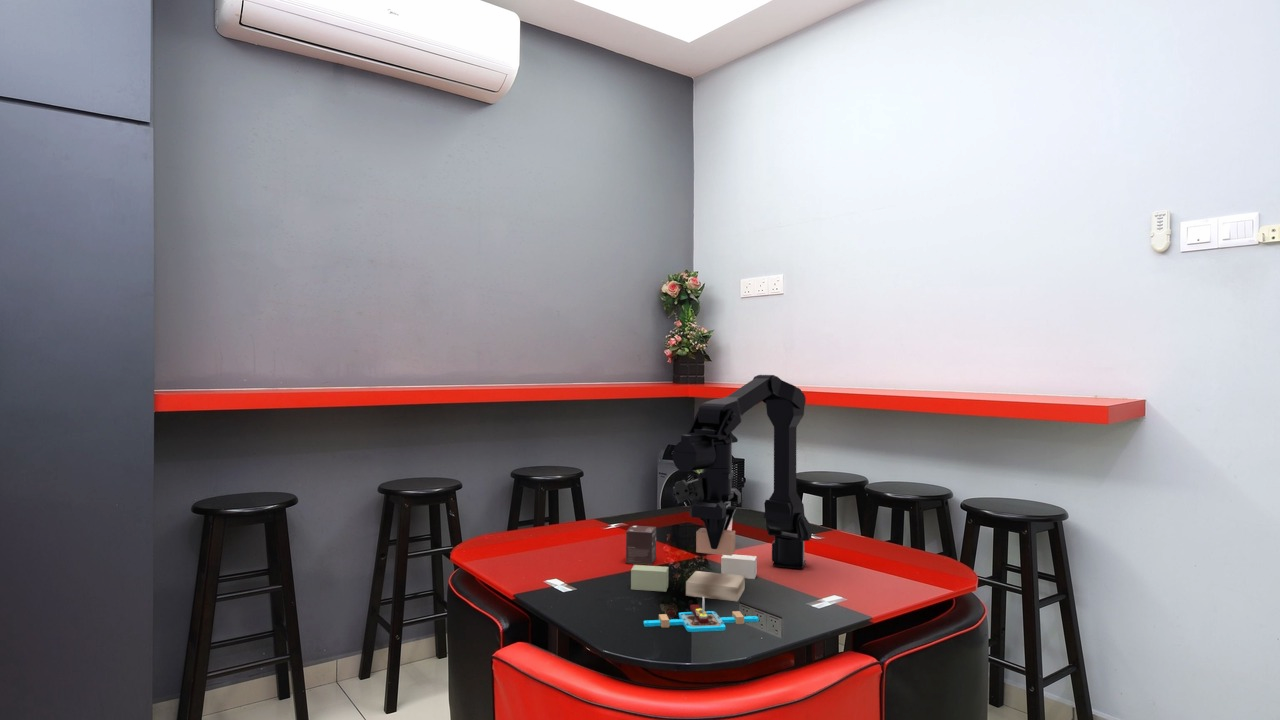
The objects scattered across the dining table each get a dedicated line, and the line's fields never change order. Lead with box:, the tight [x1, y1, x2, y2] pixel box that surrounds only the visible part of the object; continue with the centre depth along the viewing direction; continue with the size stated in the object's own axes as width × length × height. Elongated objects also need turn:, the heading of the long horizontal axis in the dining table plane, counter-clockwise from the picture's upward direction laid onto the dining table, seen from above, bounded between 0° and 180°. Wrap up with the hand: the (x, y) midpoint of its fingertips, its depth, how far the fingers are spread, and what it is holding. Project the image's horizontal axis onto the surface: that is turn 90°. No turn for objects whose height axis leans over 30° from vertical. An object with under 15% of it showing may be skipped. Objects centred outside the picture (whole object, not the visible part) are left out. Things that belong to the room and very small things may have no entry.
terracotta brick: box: [695, 527, 736, 556], centre depth 138 cm, size 7×4×4 cm, turn 71°
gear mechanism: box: [643, 597, 760, 633], centre depth 122 cm, size 20×5×9 cm
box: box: [625, 525, 657, 566], centre depth 160 cm, size 6×6×7 cm
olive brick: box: [630, 564, 669, 593], centre depth 140 cm, size 7×4×4 cm, turn 81°
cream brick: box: [720, 553, 758, 580], centre depth 149 cm, size 7×4×4 cm, turn 73°
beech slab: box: [685, 570, 746, 602], centre depth 138 cm, size 10×8×3 cm
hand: (716, 546), depth 138 cm, fingers closed on terracotta brick, 3 cm apart
